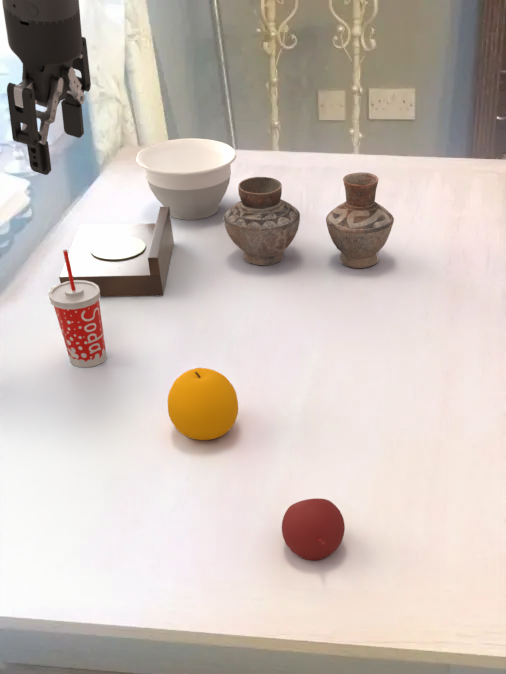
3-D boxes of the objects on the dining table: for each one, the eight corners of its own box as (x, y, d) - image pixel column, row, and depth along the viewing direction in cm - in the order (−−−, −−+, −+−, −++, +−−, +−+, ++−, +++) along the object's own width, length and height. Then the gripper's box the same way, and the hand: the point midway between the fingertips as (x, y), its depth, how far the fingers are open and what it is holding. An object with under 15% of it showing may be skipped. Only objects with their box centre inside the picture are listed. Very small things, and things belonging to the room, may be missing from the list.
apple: (224, 456, 100) (218, 397, 94) (160, 443, 101) (150, 385, 96) (250, 417, 105) (246, 360, 100) (188, 406, 107) (180, 349, 102)
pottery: (391, 278, 131) (395, 194, 123) (221, 273, 132) (213, 189, 124) (392, 245, 139) (396, 164, 131) (232, 241, 140) (226, 160, 132)
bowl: (198, 183, 157) (193, 131, 151) (260, 208, 149) (256, 154, 143) (124, 209, 149) (115, 155, 143) (185, 237, 141) (178, 181, 135)
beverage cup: (72, 375, 112) (47, 266, 102) (57, 353, 116) (31, 246, 106) (119, 362, 114) (99, 254, 104) (103, 341, 118) (81, 235, 108)
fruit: (286, 575, 89) (289, 549, 81) (277, 521, 90) (280, 491, 83) (346, 567, 90) (355, 541, 82) (337, 514, 91) (345, 483, 83)
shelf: (63, 297, 127) (55, 259, 123) (83, 244, 139) (76, 207, 136) (163, 295, 127) (157, 257, 123) (173, 242, 140) (169, 206, 136)
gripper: (38, -38, 95) (55, 114, 108) (-30, 18, 87) (-2, 174, 100) (105, -17, 95) (114, 132, 108) (43, 40, 87) (61, 194, 100)
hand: (58, 152), depth 104 cm, fingers open, 8 cm apart
